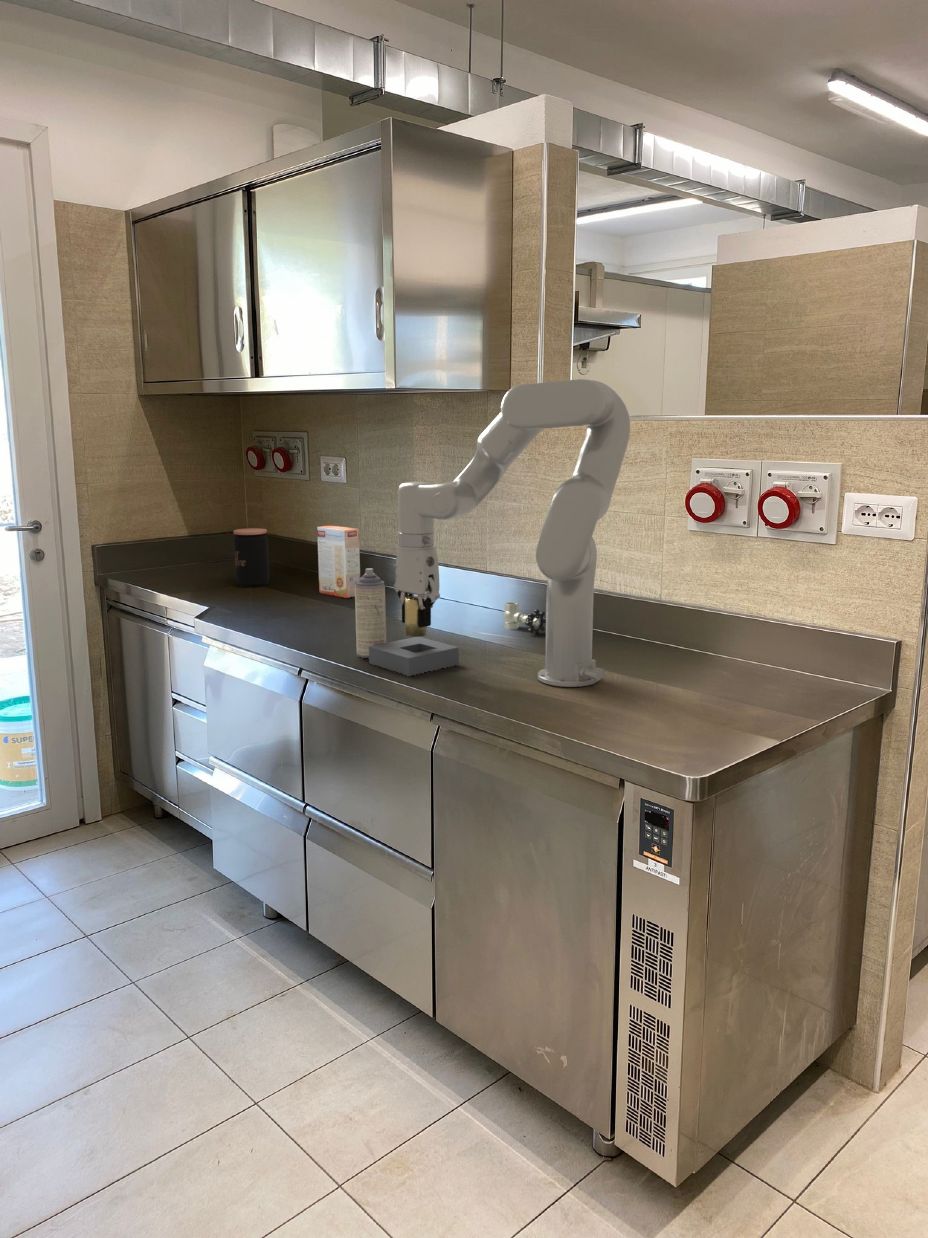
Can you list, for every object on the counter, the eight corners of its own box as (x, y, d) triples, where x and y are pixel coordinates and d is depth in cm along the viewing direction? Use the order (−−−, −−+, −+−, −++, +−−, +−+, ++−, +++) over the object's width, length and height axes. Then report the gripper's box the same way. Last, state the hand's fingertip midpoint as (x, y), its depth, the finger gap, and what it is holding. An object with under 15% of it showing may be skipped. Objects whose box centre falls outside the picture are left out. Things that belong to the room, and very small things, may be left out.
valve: (496, 628, 238) (527, 637, 229) (496, 603, 237) (527, 611, 227) (515, 625, 242) (547, 633, 233) (516, 600, 240) (547, 607, 231)
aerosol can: (391, 653, 213) (389, 567, 209) (378, 660, 207) (376, 572, 203) (365, 650, 216) (362, 565, 212) (351, 657, 210) (348, 570, 205)
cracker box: (362, 596, 282) (360, 528, 277) (346, 599, 278) (343, 529, 273) (334, 590, 291) (332, 524, 287) (318, 593, 287) (316, 526, 283)
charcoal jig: (458, 664, 203) (458, 647, 202) (408, 676, 194) (408, 658, 193) (418, 653, 213) (418, 636, 212) (369, 664, 204) (368, 646, 203)
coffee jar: (235, 583, 306) (232, 528, 302) (268, 581, 309) (265, 527, 305) (237, 588, 296) (234, 532, 292) (271, 586, 299) (268, 531, 295)
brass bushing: (431, 634, 201) (431, 598, 199) (414, 637, 197) (414, 601, 196) (417, 630, 204) (417, 595, 202) (400, 633, 201) (400, 597, 199)
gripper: (455, 543, 193) (455, 628, 197) (405, 535, 205) (405, 615, 209) (427, 546, 188) (427, 633, 192) (378, 538, 200) (378, 620, 204)
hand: (416, 623), depth 200 cm, fingers closed on brass bushing, 4 cm apart
